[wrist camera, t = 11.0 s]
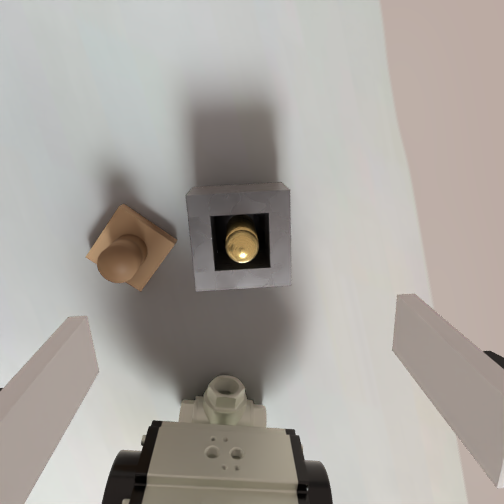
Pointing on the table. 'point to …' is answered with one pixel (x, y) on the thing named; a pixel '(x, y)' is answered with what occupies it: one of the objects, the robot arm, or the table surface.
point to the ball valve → (218, 457)
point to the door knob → (240, 235)
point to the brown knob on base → (130, 248)
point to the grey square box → (219, 263)
